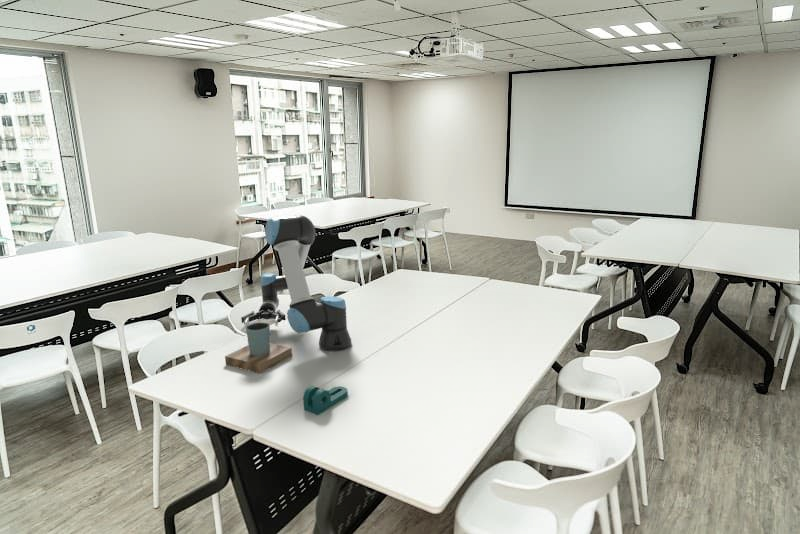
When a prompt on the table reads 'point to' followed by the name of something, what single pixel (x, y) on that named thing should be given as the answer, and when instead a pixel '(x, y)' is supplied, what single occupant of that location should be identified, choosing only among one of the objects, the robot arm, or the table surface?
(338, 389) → the bracket
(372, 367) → the table surface
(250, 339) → the blue green cup
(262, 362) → the walnut riser
